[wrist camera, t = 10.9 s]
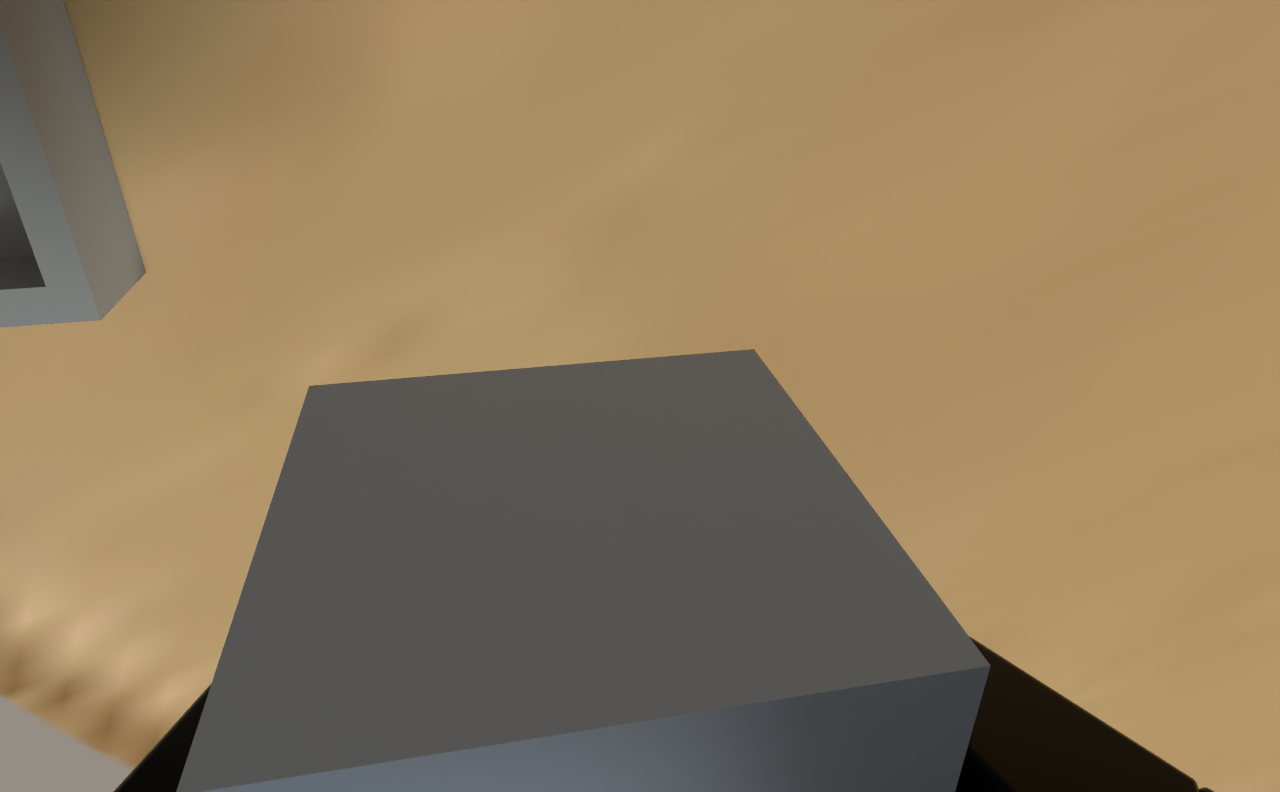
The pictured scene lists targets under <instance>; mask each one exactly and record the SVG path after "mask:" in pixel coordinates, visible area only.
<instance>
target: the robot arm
mask: <svg viewBox="0 0 1280 792" xmlns="http://www.w3.org/2000/svg"><path fill="white" fill-rule="evenodd" d="M969 637H970V636H969ZM970 639H971V640H972V641H973V643H974V644H975V645H976V647H977V648H978V649H979V651H980V652H981V653H982V655H983V656H984V657H985V659H986V660H987V661H988V663H989V664H990V665H991V666H990V670H989V673H988V677H987V680H986V684H985V687H984V691H983V694H982V698H981V702H980V705H979V709H978V712H977V716H976V719H975V723H974V726H973V730H972V733H971V737H970V741H969V744H968V748H967V751H966V755H965V758H964V762H963V765H962V769H961V772H960V776H959V780H958V783H957V787H956V790H955V792H1214V791H1212V790H1210V789H1209V788H1205V787H1204V788H1200V789H1199V788H1198V785H1197V783H1196V781H1195V780H1194V779H1192V778H1191V777H1189V776H1188V775H1186V774H1185V773H1183V772H1182V771H1180V770H1178V769H1177V768H1175V767H1174V766H1172V765H1171V764H1169V763H1167V762H1166V761H1164V760H1163V759H1161V758H1160V757H1158V756H1156V755H1155V754H1153V753H1152V752H1150V751H1149V750H1147V749H1145V748H1144V747H1142V746H1141V745H1139V744H1138V743H1136V742H1134V741H1133V740H1131V739H1130V738H1128V737H1127V736H1125V735H1123V734H1122V733H1120V732H1119V731H1117V730H1116V729H1114V728H1112V727H1111V726H1109V725H1108V724H1106V723H1105V722H1103V721H1101V720H1100V719H1098V718H1097V717H1095V716H1094V715H1092V714H1090V713H1089V712H1087V711H1086V710H1084V709H1083V708H1081V707H1079V706H1078V705H1076V704H1075V703H1073V702H1072V701H1070V700H1069V699H1067V698H1065V697H1064V696H1062V695H1061V694H1059V693H1058V692H1056V691H1054V690H1053V689H1051V688H1050V687H1048V686H1047V685H1045V684H1043V683H1042V682H1040V681H1039V680H1037V679H1036V678H1034V677H1032V676H1031V675H1029V674H1028V673H1026V672H1025V671H1023V670H1021V669H1020V668H1018V667H1017V666H1015V665H1014V664H1012V663H1010V662H1009V661H1007V660H1006V659H1004V658H1003V657H1001V656H999V655H998V654H996V653H995V652H993V651H992V650H990V649H988V648H987V647H985V646H984V645H982V644H981V643H979V642H977V641H976V640H974V639H973V638H971V637H970ZM210 687H211V685H210V686H209V687H208V688H207V689H206V690H205V691H204V692H203V693H202V695H201V696H200V697H199V698H198V699H197V700H196V701H195V702H194V703H193V705H192V706H191V707H190V708H189V709H188V710H187V711H186V712H185V713H184V714H183V716H182V717H181V718H180V719H179V720H178V721H177V722H176V723H175V724H174V726H173V727H172V728H171V729H170V730H169V731H168V732H167V733H166V734H165V735H164V737H163V738H162V739H161V740H160V741H159V742H158V743H157V744H156V745H155V747H154V748H153V749H152V750H151V751H150V752H149V753H148V754H147V755H146V756H145V758H144V759H143V760H142V761H141V762H140V763H139V764H138V765H137V766H136V768H135V769H134V770H133V771H132V772H131V773H130V774H129V775H128V776H127V777H126V779H125V780H124V781H123V782H122V783H121V784H120V785H119V786H118V787H117V788H116V790H115V791H114V792H176V791H177V788H178V785H179V782H180V779H181V776H182V773H183V770H184V767H185V764H186V760H187V757H188V754H189V751H190V748H191V745H192V742H193V739H194V736H195V733H196V730H197V727H198V724H199V721H200V718H201V715H202V712H203V709H204V706H205V703H206V700H207V696H208V693H209V690H210Z"/></svg>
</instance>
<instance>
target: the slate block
mask: <svg viewBox="0 0 1280 792" xmlns="http://www.w3.org/2000/svg"><path fill="white" fill-rule="evenodd" d="M990 666H991V665H990V664H989V663H988V661H987V660H986V659H985V657H984V656H983V655H982V653H981V652H980V651H979V649H978V648H977V647H976V645H975V644H974V643H973V641H972V640H971V639H970V637H969V636H968V635H967V633H966V632H965V631H964V629H963V628H962V627H961V625H960V624H959V623H958V621H957V620H956V619H955V617H954V616H953V615H952V613H951V612H950V611H949V609H948V608H947V607H946V605H945V604H944V603H943V601H942V600H941V599H940V597H939V596H938V595H937V593H936V592H935V591H934V589H933V588H932V587H931V585H930V584H929V583H928V581H927V580H926V579H925V577H924V576H923V575H922V573H921V572H920V571H919V569H918V568H917V567H916V565H915V564H914V563H913V561H912V560H911V559H910V557H909V556H908V555H907V553H906V552H905V551H904V549H903V548H902V547H901V545H900V544H899V543H898V541H897V540H896V539H895V537H894V536H893V535H892V533H891V532H890V531H889V529H888V528H887V527H886V525H885V524H884V522H883V521H882V520H881V518H880V517H879V516H878V514H877V513H876V512H875V510H874V509H873V508H872V506H871V505H870V504H869V502H868V501H867V500H866V498H865V497H864V496H863V494H862V493H861V492H860V490H859V489H858V488H857V486H856V485H855V484H854V482H853V481H852V480H851V478H850V477H849V476H848V474H847V473H846V472H845V470H844V469H843V468H842V466H841V465H840V464H839V462H838V461H837V460H836V458H835V457H834V456H833V454H832V453H831V452H830V450H829V449H828V448H827V446H826V445H825V444H824V442H823V441H822V440H821V438H820V437H819V436H818V434H817V433H816V432H815V430H814V429H813V428H812V426H811V425H810V424H809V422H808V421H807V420H806V418H805V417H804V416H803V414H802V413H801V412H800V410H799V409H798V408H797V406H796V405H795V404H794V402H793V401H792V400H791V398H790V397H789V396H788V394H787V393H786V392H785V390H784V389H783V388H782V386H781V385H780V384H779V382H778V381H777V380H776V378H775V377H774V376H773V374H772V373H771V372H770V370H769V369H768V368H767V366H766V365H765V364H764V362H763V361H762V360H761V358H760V357H759V356H758V354H757V353H756V352H755V350H754V349H752V350H740V351H728V352H716V353H704V354H692V355H680V356H668V357H655V358H643V359H631V360H619V361H607V362H595V363H583V364H571V365H558V366H546V367H534V368H522V369H510V370H498V371H486V372H474V373H461V374H449V375H437V376H425V377H413V378H401V379H389V380H377V381H365V382H352V383H340V384H328V385H316V386H309V389H308V392H307V395H306V398H305V401H304V404H303V407H302V410H301V413H300V416H299V419H298V422H297V425H296V428H295V431H294V434H293V437H292V440H291V443H290V446H289V450H288V453H287V456H286V459H285V462H284V465H283V468H282V471H281V474H280V477H279V480H278V483H277V486H276V489H275V492H274V495H273V498H272V501H271V504H270V507H269V511H268V514H267V517H266V520H265V523H264V526H263V529H262V532H261V535H260V538H259V541H258V544H257V547H256V550H255V553H254V556H253V559H252V562H251V565H250V568H249V571H248V575H247V578H246V581H245V584H244V587H243V590H242V593H241V596H240V599H239V602H238V605H237V608H236V611H235V614H234V617H233V620H232V623H231V626H230V629H229V632H228V635H227V639H226V642H225V645H224V648H223V651H222V654H221V657H220V660H219V663H218V666H217V669H216V672H215V675H214V678H213V681H212V684H211V687H210V690H209V693H208V696H207V700H206V703H205V706H204V709H203V712H202V715H201V718H200V721H199V724H198V727H197V730H196V733H195V736H194V739H193V742H192V745H191V748H190V751H189V754H188V757H187V760H186V764H185V767H184V770H183V773H182V776H181V779H180V782H179V785H178V788H177V791H176V792H955V790H956V787H957V783H958V780H959V776H960V772H961V769H962V765H963V762H964V758H965V755H966V751H967V748H968V744H969V741H970V737H971V733H972V730H973V726H974V723H975V719H976V716H977V712H978V709H979V705H980V702H981V698H982V694H983V691H984V687H985V684H986V680H987V677H988V673H989V670H990Z"/></svg>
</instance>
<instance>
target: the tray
mask: <svg viewBox="0 0 1280 792" xmlns="http://www.w3.org/2000/svg"><path fill="white" fill-rule="evenodd" d="M145 273H146V271H145V268H144V264H143V261H142V258H141V255H140V251H139V248H138V245H137V241H136V238H135V235H134V231H133V228H132V225H131V221H130V218H129V215H128V212H127V208H126V205H125V202H124V198H123V195H122V192H121V188H120V185H119V182H118V178H117V175H116V172H115V169H114V165H113V162H112V159H111V155H110V152H109V149H108V145H107V142H106V139H105V135H104V132H103V129H102V126H101V122H100V119H99V116H98V112H97V109H96V106H95V102H94V99H93V96H92V92H91V89H90V86H89V83H88V79H87V76H86V73H85V69H84V66H83V63H82V59H81V56H80V53H79V49H78V46H77V43H76V40H75V36H74V33H73V30H72V26H71V23H70V20H69V16H68V13H67V10H66V6H65V3H64V0H0V327H11V326H25V325H39V324H53V323H66V322H80V321H94V320H102V319H103V317H104V316H105V315H106V314H107V313H108V312H109V311H110V310H111V309H112V308H113V307H114V306H115V305H116V304H117V303H118V302H119V300H120V299H121V298H122V297H123V296H124V295H125V294H126V293H127V292H128V291H129V290H130V289H131V288H132V287H133V286H134V285H135V283H136V282H137V281H138V280H139V279H140V278H141V277H142V276H143V275H144V274H145Z"/></svg>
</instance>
